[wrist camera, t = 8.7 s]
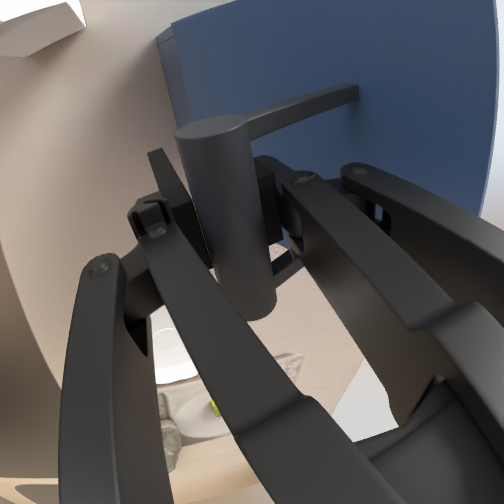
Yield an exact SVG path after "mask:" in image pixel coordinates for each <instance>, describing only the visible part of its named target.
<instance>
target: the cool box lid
mask: <svg viewBox="0 0 504 504" xmlns="http://www.w3.org/2000/svg"><path fill="white" fill-rule="evenodd" d="M171 26H172V31H173V35H174V40H175V44H176V49H177V53H178V57H179V62H180V66H181V70H182V75H183V79H184V83H185V88H186V92H187V96H188V100H189V104H190V109H191V113H192V117H193V121H194V122H192V123H190V124H187V125H185V126H184V127H182V128H180V129H179V130H178V131H177V132H176V133H175V139H176V142H177V146H178V150H179V153H180V157H181V161H182V164H183V168H184V171H185V175H186V178H187V182H188V185H189V189H190V192H191V196H192V199H193V202H194V206H195V209H196V213H197V216H198V219H199V223H200V226H201V229H202V233H203V236H204V239H205V242H206V246H207V249H208V252H209V255H210V258H211V262H212V265H213V268H214V271H215V274H216V277H217V281H218V284H219V285H220V286H221V288H222V289H223V291H224V292H225V293H226V295H227V296H228V298H229V299H230V300H231V302H232V303H233V304H234V306H235V307H236V308H237V310H238V311H239V313H240V314H241V315H242V317H243V318H244V319H245V321H256V320H259V319H262V318H264V317H266V316H267V315H268V314H270V313H271V312H272V310H273V309H274V308H275V305H276V302H277V296H276V288H277V287H278V286H280V285H281V284H282V283H284V282H285V281H286V280H287V279H289V278H290V277H291V276H293V275H294V274H295V273H296V272H298V271H299V270H300V269H301V268H303V267H304V265H303V263H302V262H301V260H299V257H298V256H297V255H296V254H295V261H294V262H292V260H291V254H290V246H289V238H288V232H287V231H286V230H285V229H284V228H283V227H282V230H283V238H284V240H282V241H280V242H277V244H279V245H281V246H283V247H285V248H287V249H289V250H287V251H286V252H285V253H283V254H282V255H281V256H279V257H278V258H276V259H275V260H274V261H272V262H271V259H270V253H269V247H268V241H267V235H266V229H265V223H264V217H263V211H262V205H261V199H260V194H259V188H258V182H257V176H256V171H255V165H254V159H253V157H257V156H261V155H268V156H272V157H274V158H276V159H277V160H279V162H282V163H283V164H284V165H287V166H288V167H290V168H291V169H293V170H294V171H299V170H307V171H312V172H315V173H317V174H318V175H319V176H321V177H322V178H323V179H324V180H328V179H336V178H340V169H341V167H343V166H344V165H346V164H350V163H353V162H354V163H355V162H360V163H365V164H369V165H372V166H374V167H377V168H379V169H381V170H384V171H386V172H388V173H391V174H393V175H395V176H397V177H400V178H402V179H404V180H406V181H409V182H411V183H413V184H415V185H417V186H419V187H421V188H424V189H426V190H428V191H430V192H432V193H434V194H436V195H438V196H440V197H442V198H444V199H446V200H448V201H450V202H452V203H454V204H456V205H458V206H460V207H461V208H463V209H465V210H467V211H469V212H471V213H473V214H475V215H476V216H478V217H480V215H481V211H482V207H483V203H484V198H485V193H486V188H487V183H488V178H489V172H490V167H491V161H492V154H493V146H494V138H495V130H496V121H497V110H498V94H499V34H498V19H497V9H496V0H236V1H233V2H229V3H226V4H223V5H220V6H217V7H214V8H211V9H208V10H205V11H202V12H199V13H196V14H194V15H191V16H188V17H186V18H183V19H181V20H178V21H176V22H173V23H171ZM382 212H383V208H382V207H380V206H378V205H376V216H375V218H376V219H378V220H382Z"/></svg>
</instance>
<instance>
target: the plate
mask: <svg viewBox="0 0 504 504" xmlns="http://www.w3.org/2000/svg"><path fill="white" fill-rule="evenodd" d="M150 317H151V322H152V339H153V353H154V366H155V377H156V383H157V384H166V383H171V382H174V381H177V380H181V379H187V378H190V377H193V376H195V375H197V374H198V372H197V370H196V368H195V366H194V364H193V362H192V360H191V358H190V356H189V354H188V352H187V350H186V348H185V346H184V344H183V342H182V340H181V338H180V336H179V334H178V332H177V330H176V328H175V326H174V323H173V321H172V319H171V317H170V315H169V313H168V311H167V309H166V306H165V305H163V306H162V307H160V308H159V309H158V310H156V311H155V312H153V313H152V314H151V315H150Z"/></svg>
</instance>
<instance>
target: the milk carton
mask: <svg viewBox="0 0 504 504" xmlns="http://www.w3.org/2000/svg"><path fill="white" fill-rule="evenodd" d="M84 28H86V24H85V20H84V17H83V13H82V10H81V6H80V3H79V0H0V56H16V57H28V56H30V55H32V54H33V53H35V52H37V51H39V50H41V49H43V48H45V47H46V46H48V45H50V44H52V43H54V42H56V41H58V40H60V39H62V38H65V37H67V36H69V35H71V34H73V33H75V32H78V31H80V30H82V29H84Z"/></svg>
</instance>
